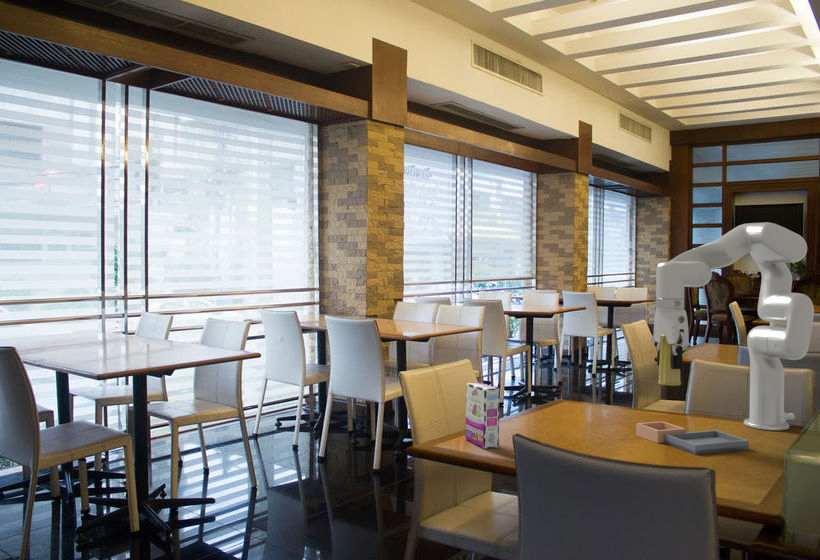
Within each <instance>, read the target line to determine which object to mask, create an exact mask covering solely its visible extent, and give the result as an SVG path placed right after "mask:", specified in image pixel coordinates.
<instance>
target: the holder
mask: <svg viewBox="0 0 820 560" xmlns="http://www.w3.org/2000/svg"><path fill="white" fill-rule="evenodd" d="M635 424H636V425H635V426H636V427H635V428H636V429H635V431H636V432H635V435H636V436H637V437H640V438H643V439H645V440H648V441H651V442H653V443H656V444H665V443H664V440H665V434H675V433H687V432H686V430H687V429H686V428H684V427H682V426H678V425H675V424H672V423H669V422H666V421H651V422H650V421H649V422H638V423H635Z"/></svg>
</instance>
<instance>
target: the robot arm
mask: <svg viewBox="0 0 820 560" xmlns="http://www.w3.org/2000/svg"><path fill="white" fill-rule="evenodd" d="M807 244H808V243H807V242H806V240H805V239H804V237H802V236H801V235H800V234H798V233H796V232H794V231H792V230H790V229H788V228H786V227H784V226H781V225H779V224H777V223H773V222H767V221H766V222H751V223H743V224H740V225H737V226H736V227H734V228H732V229H731V230H729V231H728V232H726V233H725V234H723V235H721V236H720V237H718V238H716V239H715V240H713V241H710V242H708V243H706V244H703V245H701V246H697V247H695V248H693V249H689V250H686V251H684V252H682V253H680V254H678V255H677V256H675V257H673V258H672V259H671V260H669V261H663V262H658V263H657V264H656V273H655V274H656V282H655V283H656V286H655V287H656V290H655V291H656V294H655V295H656V296H655V298H656V301H655V304H656V305H655V313H654V318H653V319H654V320H653V335H652V337H651V341H652V343H653V344H654V345H653V346H655V351H656V353H657V356H656V358H657V363H656V365H657V366H658V367H659V364H660V335H666V339H667V343H668V344H670V345H672V350H673V354H674V355H672V369H680V370H681V369H683V356H684V355H685V352H686V351H687V349H688V347H689V346H690V342H689V339H690V338H689V336H690V335H689V334H690V333H689V324H688V323H689V322H688V321H689V320H688V315H687V311H686V310H685V287H686V288H701V287H704V286H706V285H707V284H708V283H709V282H710V281H711V279H712V276H713V273H712V270H717V269H720V268H721V269H722V268H725V267H729V266H731V265H733V264H734V263H736V262H737V261H739V260H741V258H743V257H745V256H746V255H748V254H749V255H750V256H751V258H752V259H753V261H754V262H755V264H756V265H757V266H758V268H759V270H760V274H761V283H760V290H759V296H758V302H757V315H758V317H759V318H760V319H761V320H763V321H765V322H769V323H778V324H780V323H781V324H786V327H783V326H775V325H758V326H755V327H753V328H752V329H750V331H749V332H748V334H747V337H746V344H747V350H748V355H749V365H750V366H749V367H750V368H749V374H750V375H749V418H748V417H747V418H745V419H744V420H743V424H744V425H745V426H747V427H749V428H753V429H759V430H765V431H766V430H767V431H785V430H786V431H787V430H789V429H790V424H789V423H788V422H787V421H788V420H794V419H796V417H795V414H794V413H793V412H790V413H789V412H788V413H787V412H786V411H785V409H784V408H785V407H784V406H785V369H784V366H783V363H782V361H781V359H784V360H791V361H792V360H793V361H796V360H801V359H803V358H805V356H806V355H807V353H808V350H809V347H810V342H811V335H812V332H813V331H812V329H813V322H814V318H815V317H814V315H815V307H814V303H813V301H812V300H811V298H810V297H809V296H808V295H806V294H805V293H799V292H792V287H793V286H792V285H793V276H792V275H793V274H792V273H791V270H790V269H789V267H788V266H787V265H786V263H798V262H800V261H802V260H803V259H804V258H805V257H806V255H807V252H808V245H807ZM677 342H678V344H677ZM677 346H678V349H677V348H676V347H677Z"/></svg>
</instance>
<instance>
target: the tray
mask: <svg viewBox="0 0 820 560" xmlns="http://www.w3.org/2000/svg"><path fill="white" fill-rule="evenodd" d="M749 442H750V441H749V439H746V438H743V437H740V436H739V437H738V436H737V435H733V434H730V433H726V432H722V431H720V430H716V429H714V430H702V431H689V432H686V433H675V434H665V440H664V443H663V444H665V445H668V446H671V447H673V448H676V449H679V450H682V451H683V452H686V453H690V454H691V455H696V456H697V455H704V454H715V453H717V454H718V453H725V452H736V451H737V452H738V451H745V450H746V451H747V450H749V447H750V446H749Z"/></svg>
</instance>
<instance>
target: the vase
mask: <svg viewBox="0 0 820 560" xmlns="http://www.w3.org/2000/svg"><path fill="white" fill-rule="evenodd" d="M677 344H678V342H677ZM676 348H677V349H678V346H677V347H676ZM672 355H674V354H673V350H672V345H670V344H668V343H667V339H666V335H660V364H659V366H658V381H657V383H658V384H659V385H663V386H671V387H672V386H673V387H674V386H680V385H681V384H682V381H681V369H672Z"/></svg>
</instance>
